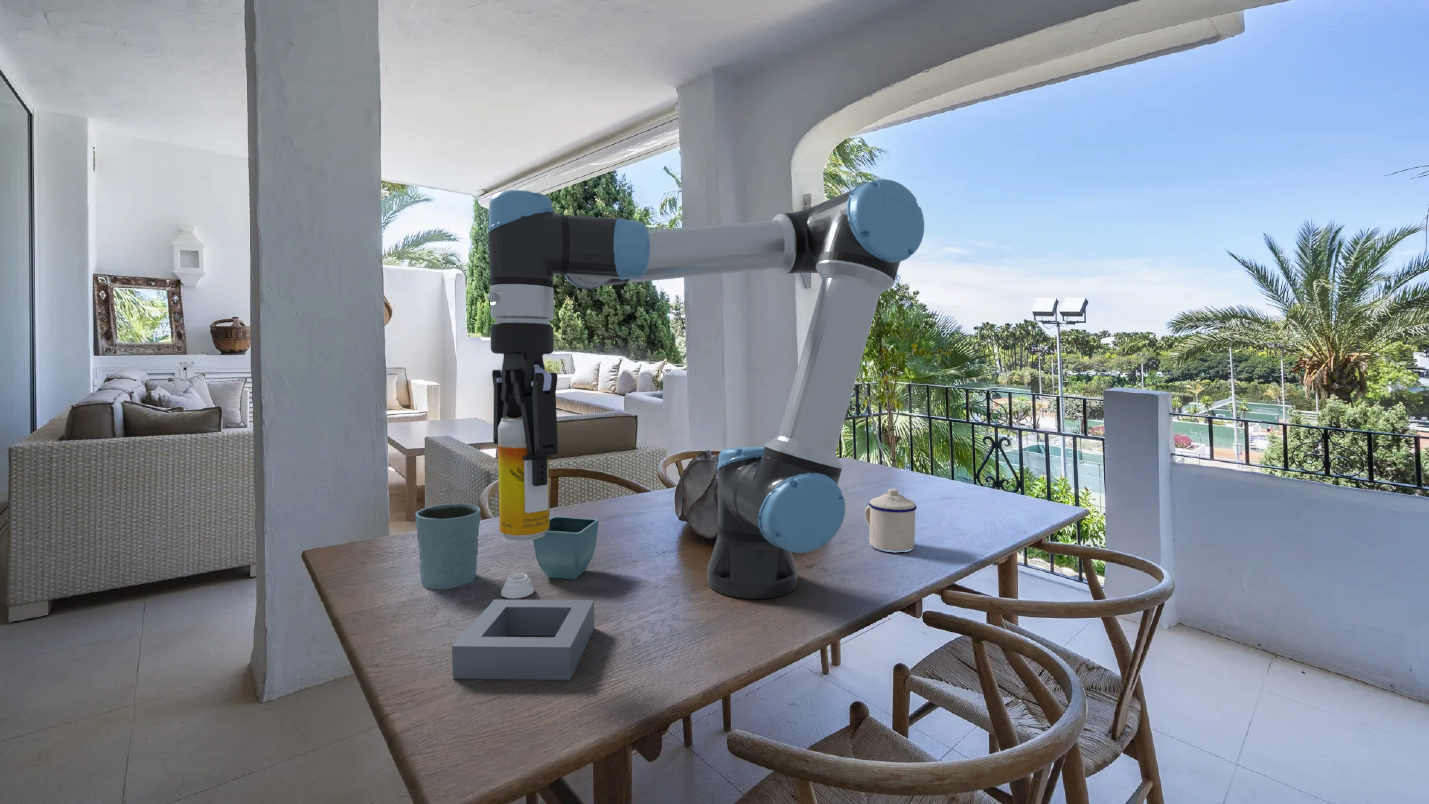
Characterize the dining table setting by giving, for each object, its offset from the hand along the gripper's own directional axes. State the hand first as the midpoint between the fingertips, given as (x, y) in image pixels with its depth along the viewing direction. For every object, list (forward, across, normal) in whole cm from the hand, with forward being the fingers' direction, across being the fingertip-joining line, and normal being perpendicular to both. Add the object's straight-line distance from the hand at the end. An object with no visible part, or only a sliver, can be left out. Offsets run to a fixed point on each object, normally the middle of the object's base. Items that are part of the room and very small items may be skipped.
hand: (524, 505), depth 80 cm
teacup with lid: (+19, +5, +74) cm, 77 cm away
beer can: (+4, 0, 0) cm, 4 cm away
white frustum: (+20, -19, +7) cm, 28 cm away
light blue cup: (+20, -32, +2) cm, 38 cm away
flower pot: (+19, -22, +18) cm, 34 cm away
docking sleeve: (+19, 0, 0) cm, 19 cm away
